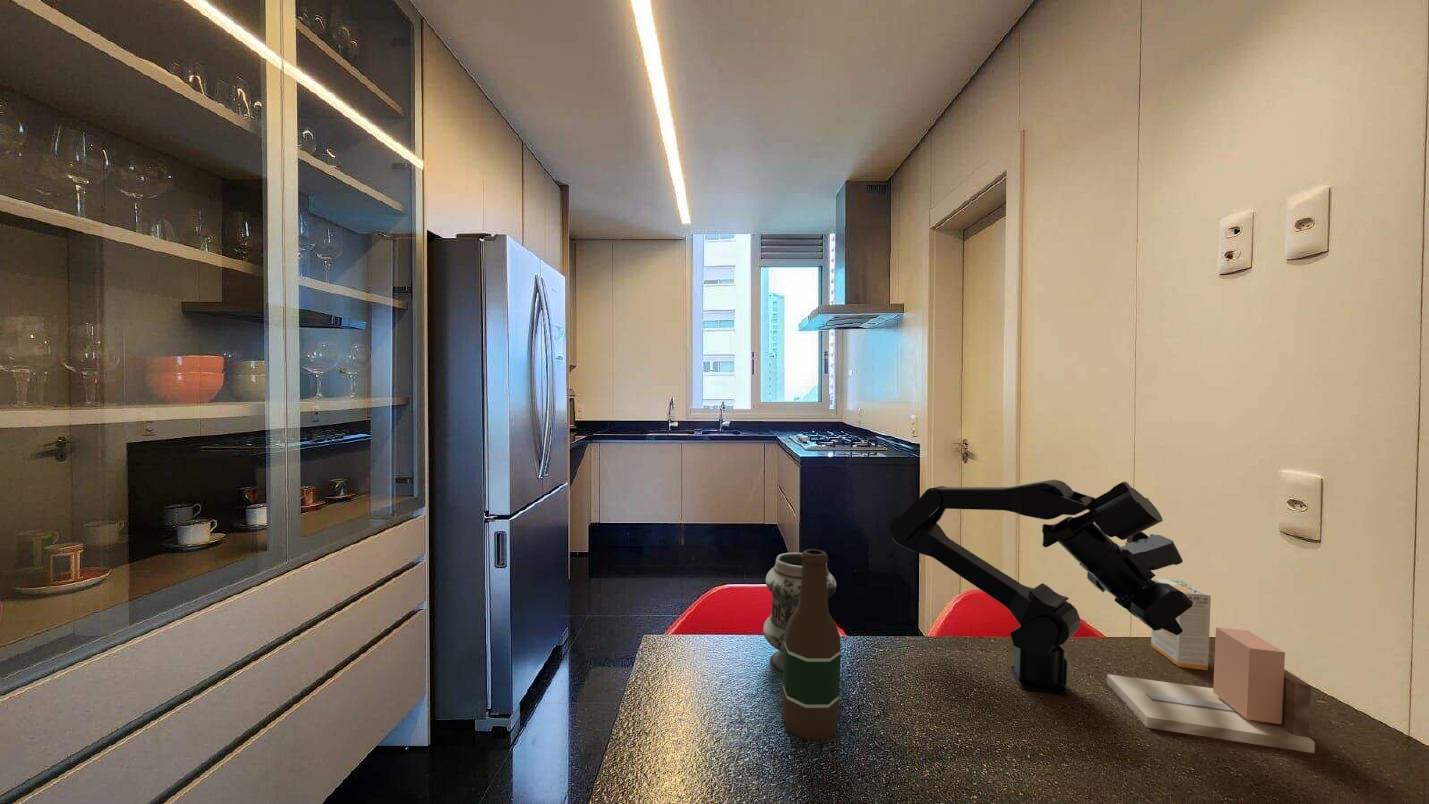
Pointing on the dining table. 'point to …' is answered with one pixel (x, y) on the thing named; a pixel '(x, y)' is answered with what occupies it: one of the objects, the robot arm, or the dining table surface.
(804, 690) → the beer bottle
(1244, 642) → the tan rectangular block
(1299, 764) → the dining table surface
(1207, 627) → the supplement box
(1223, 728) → the track
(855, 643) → the dining table surface
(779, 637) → the apothecary jar
